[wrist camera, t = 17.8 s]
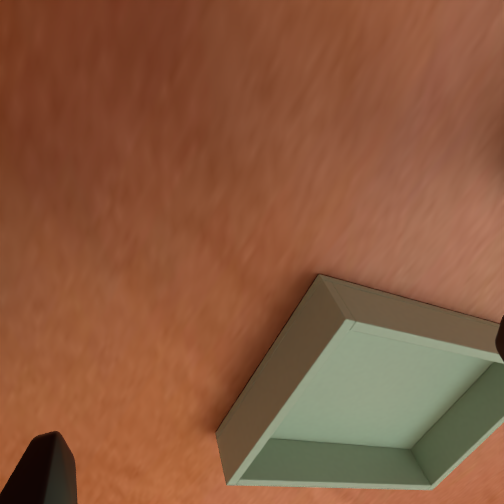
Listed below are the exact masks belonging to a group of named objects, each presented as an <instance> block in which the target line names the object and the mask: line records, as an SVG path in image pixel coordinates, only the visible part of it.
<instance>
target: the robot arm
mask: <svg viewBox="0 0 504 504" xmlns="http://www.w3.org/2000/svg"><path fill="white" fill-rule="evenodd" d="M495 346H496V349H497V351H498V353H499V355H500V357H501V358H502V360H503V362H504V316H503V317H502V320H501V323H500V326H499V329H498V332H497V335H496V338H495ZM0 504H77V485H76V467H75V460H74V456H73V454H72V452H71V450H70V449H69V447H68V445H67V443H66V442H65V440H64V438H63V437H62V435H61V434H60V432H58V431H53V432H49V433H45V434H42V435H38V436H36V437H35V438H34V439H33V440H32V441H31V442H30V444H29V446H28V447H27V449H26V451H25V453H24V454H23V456H22V458H21V459H20V461H19V463H18V465H17V466H16V468H15V470H14V471H13V473H12V475H11V476H10V478H9V480H8V482H7V483H6V485H5V487H4V488H3V490H2V492H1V494H0Z"/></svg>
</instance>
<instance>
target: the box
mask: <svg viewBox="0 0 504 504" xmlns="http://www.w3.org/2000/svg"><path fill="white" fill-rule="evenodd" d="M499 326H500V324H498V323H494V322H491V321H487V320H483V319H480V318H476V317H473V316H469V315H465V314H462V313H458V312H454V311H451V310H447V309H444V308H440V307H436V306H433V305H429V304H426V303H422V302H418V301H415V300H411V299H408V298H404V297H400V296H397V295H393V294H389V293H386V292H382V291H379V290H375V289H371V288H368V287H364V286H361V285H357V284H353V283H350V282H346V281H343V280H339V279H335V278H332V277H328V276H324V275H321V274H319V275H318V276H317V278H316V279H315V281H314V282H313V284H312V285H311V287H310V288H309V290H308V291H307V293H306V294H305V296H304V298H303V299H302V301H301V302H300V304H299V305H298V307H297V308H296V310H295V311H294V313H293V314H292V316H291V318H290V319H289V321H288V322H287V324H286V325H285V327H284V328H283V330H282V331H281V333H280V334H279V336H278V338H277V339H276V341H275V342H274V344H273V345H272V347H271V348H270V350H269V351H268V353H267V354H266V356H265V358H264V359H263V361H262V362H261V364H260V365H259V367H258V368H257V370H256V371H255V373H254V374H253V376H252V378H251V379H250V381H249V382H248V384H247V385H246V387H245V388H244V390H243V391H242V393H241V394H240V396H239V398H238V399H237V401H236V402H235V404H234V405H233V407H232V408H231V410H230V411H229V413H228V414H227V416H226V418H225V419H224V421H223V422H222V424H221V425H220V427H219V428H218V430H217V431H216V433H215V434H216V439H217V443H218V448H219V453H220V458H221V462H222V467H223V472H224V476H225V481H226V485H241V486H282V487H323V488H363V489H404V490H433V489H434V488H435V487H436V486H437V485H438V484H439V483H440V482H441V481H442V480H443V479H444V478H445V477H446V476H448V475H449V474H450V473H451V472H452V471H453V470H454V469H455V468H456V467H457V466H458V465H459V464H460V463H461V462H462V461H463V460H464V459H465V458H467V457H468V456H469V455H470V454H471V453H472V452H473V451H474V450H475V449H476V448H477V447H478V446H479V445H480V444H481V443H482V442H483V441H484V440H485V439H487V438H488V437H489V436H490V435H491V434H492V433H493V432H494V431H495V430H496V429H497V428H498V427H499V426H500V425H501V424H502V423H503V422H504V362H503V360H502V358H501V357H500V355H499V353H498V351H497V349H496V346H495V338H496V335H497V332H498V329H499Z"/></svg>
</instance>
